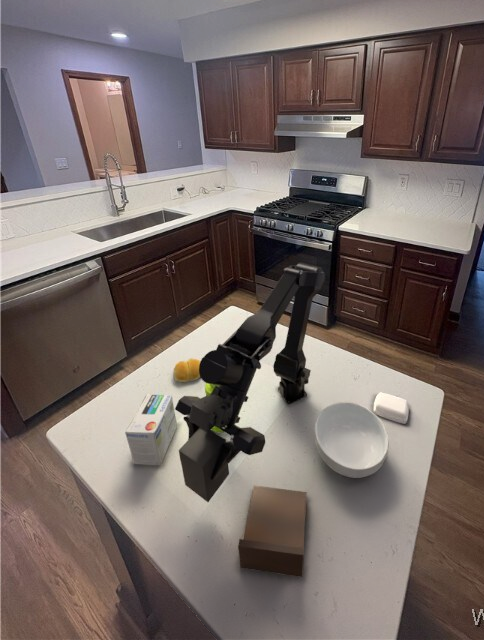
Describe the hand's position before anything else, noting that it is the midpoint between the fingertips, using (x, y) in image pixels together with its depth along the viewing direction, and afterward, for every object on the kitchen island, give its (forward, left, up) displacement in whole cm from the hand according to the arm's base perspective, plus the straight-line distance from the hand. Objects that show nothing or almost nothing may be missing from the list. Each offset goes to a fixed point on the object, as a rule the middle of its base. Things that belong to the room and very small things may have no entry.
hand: (200, 470), depth 58 cm
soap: (-51, 0, -13) cm, 53 cm away
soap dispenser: (-9, -18, -13) cm, 24 cm away
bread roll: (-5, -40, -11) cm, 42 cm away
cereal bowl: (-33, +4, -13) cm, 36 cm away
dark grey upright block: (-1, -1, -5) cm, 5 cm away
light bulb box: (+7, -20, -13) cm, 24 cm away
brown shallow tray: (-11, +9, -12) cm, 19 cm away
